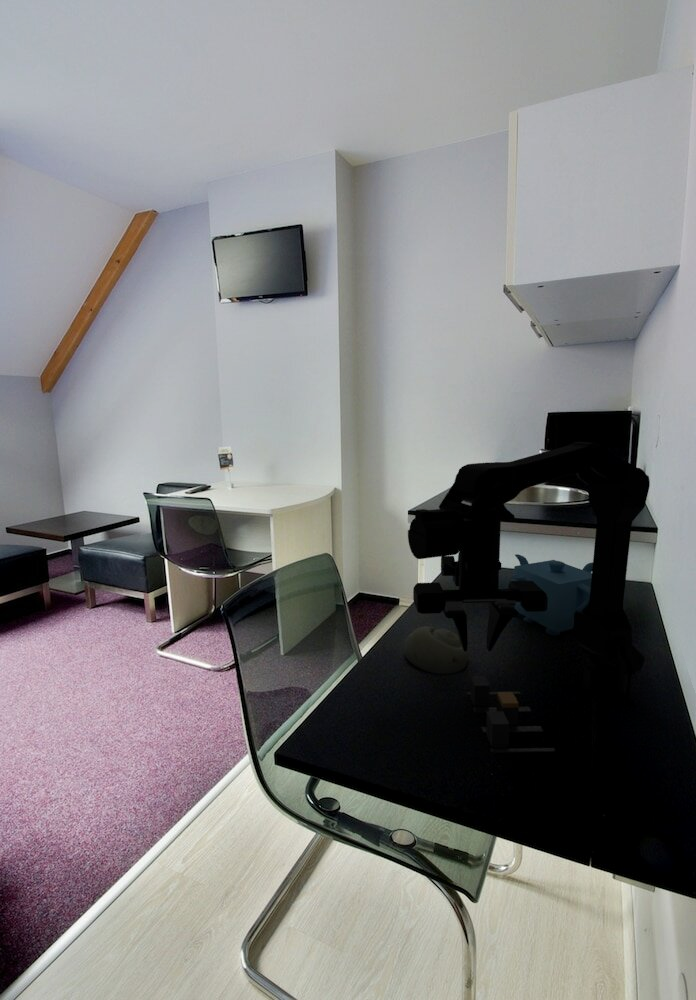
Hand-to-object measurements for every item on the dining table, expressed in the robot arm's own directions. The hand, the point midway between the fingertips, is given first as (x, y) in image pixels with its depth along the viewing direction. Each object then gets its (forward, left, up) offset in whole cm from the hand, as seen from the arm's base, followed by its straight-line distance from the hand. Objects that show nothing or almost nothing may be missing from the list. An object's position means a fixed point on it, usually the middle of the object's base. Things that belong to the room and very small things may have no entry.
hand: (476, 650), depth 75 cm
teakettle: (-27, -38, -13) cm, 49 cm away
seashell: (+3, -19, -13) cm, 23 cm away
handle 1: (-2, -5, -12) cm, 13 cm away
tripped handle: (-5, 0, -12) cm, 13 cm away
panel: (-5, 0, -13) cm, 14 cm away
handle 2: (-2, +5, -12) cm, 13 cm away
